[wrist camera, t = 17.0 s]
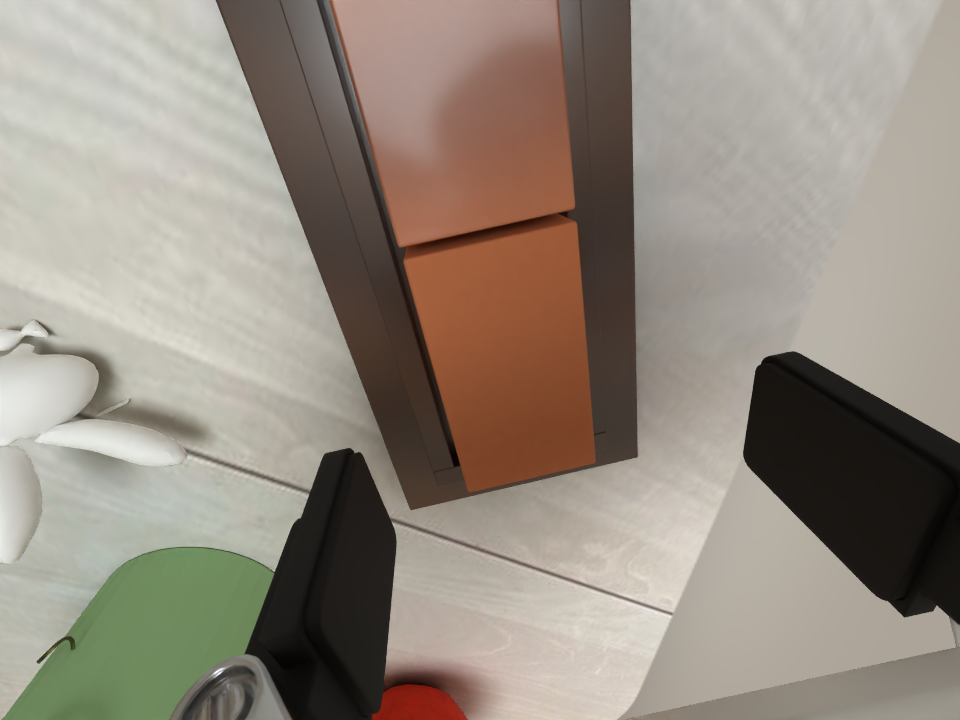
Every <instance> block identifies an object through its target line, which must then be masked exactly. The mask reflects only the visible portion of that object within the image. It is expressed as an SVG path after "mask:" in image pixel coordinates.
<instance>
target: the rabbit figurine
mask: <svg viewBox="0 0 960 720" xmlns="http://www.w3.org/2000/svg"><path fill="white" fill-rule="evenodd" d="M26 335H31V336H38V337H47V338H48V332H47V331H46V330H45V329H44V328H43V327H42V326H41V325H40V324H39V323H38V322H37V321H35V320H32V321H30V322H29V323H27V324H26V325H25V326H24V327H23V328H22V330H21V331H16V330H8V329H0V350H1V351H3V350H9V349H11V348H13V347H14V346H16V345H17V344H18V343H19V342H20V340H21V339H22V338H23V337H24V336H26ZM34 348H35V347H34V346H32V345H30V344H22V343H21V344H20V345H19V346H18V347H17V348H16V349H14V350H13V351H11V352H10V353H9V354H7V355H4V356H0V562H1V563H3V564H13V563H14V562H16V561H18V560H19V558H20V557H21V556H22V554H23V553H24V551H25V550H26V548H27V547H28V544H29V542H30V540H31V538H32V537H33V535H34V533H35V531H36V529H37V526H38V524H39V521H40V518H41V514H42V493H41V486H40V481H39V478H38V476H37V474H36V472H35V469H34V466H33V463H32V461H31V459H30V457H29V456H28V454H27V453H26V451H25V450H23V449H21V448H20V447H7V446H8V445H9V444H11V443H13V442H14V441H16V440H18V439H27V438H31V437H34V436H37V435H39V436H38V438H37V439H36V440H35V442H39V443H43V444H50V445H57V446H64V447H72V448H79V449H85V450H90V451H95V452H99V453H102V454H105V455H107V456H111V457H115V458H118V459H122V460H126V461H129V462H131V463H134V464H138V465H143V466H152V467H159V466H172V465H176V464H181V463H182V462H183V461H184V460H185V459H186V457H187V453H186V451H185V449H184V448H183V447H182V445H181V444H180V443H179V442H178V441H177V440H174V439H171V438H169V437H167V436H166V435H163V434H161V433H159V432H157V431H155V430H153V429H150V428H147V427H143V426H139V425H134V424H129V423H124V422H118V421H111V420H102V419H86V420H80V421H73V422H68V423H64V422H66V421H68V420H69V419H71V418H73V417H74V416H75V415H77V414H78V413H79V412H80V411H81V410H82V409H83V408H85V407H86V406H87V404H88V403H89V402H90V401H91V399H92V398H93V396H94V394H95V392H96V389H97V386H98V380H99V374H98V371H97V370H96V368H95V365H94V364H93V363H91V362H90V361H88V360H86V359H84V358H81V357H77V356H74V355H63V354H49V355H38V354H36V353H35V352H34V350H33V349H34ZM128 401H129V399H128V400H126V401H123V402H121V403H119V404H117V405H115V406H112V407H110V408H108V409H106V410H104V411H101V412H99V413H98V415H97V416H96V417H98V416H100V415H103V414H105V413H107V412H109V411H111V410H114V409H116V408H118V407H120V406H122V405H125V404H126V403H127V402H128ZM96 417H95V418H96ZM63 423H64V424H63Z"/></svg>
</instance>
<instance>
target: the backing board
mask: <svg viewBox="0 0 960 720" xmlns="http://www.w3.org/2000/svg"><path fill="white" fill-rule="evenodd" d="M216 2H217V5H218V7H219V10H220V12H221V15H222V18H223V20H224V23H225V26H226V28H227V31H228V33H229V36H230V39H231V41H232V44H233V46H234V49H235V52H236V54H237V57H238V60H239V62H240V65H241V67H242V70H243V73H244V75H245V78H246V81H247V83H248V86H249V88H250V91H251V94H252V96H253V99H254V102H255V104H256V107H257V109H258V112H259V115H260V117H261V120H262V122H263V125H264V128H265V130H266V133H267V136H268V138H269V141H270V143H271V146H272V149H273V151H274V154H275V157H276V159H277V162H278V164H279V167H280V170H281V172H282V175H283V177H284V180H285V183H286V185H287V188H288V191H289V193H290V196H291V198H292V201H293V204H294V206H295V209H296V212H297V214H298V217H299V219H300V222H301V225H302V227H303V230H304V233H305V235H306V238H307V240H308V243H309V246H310V248H311V251H312V253H313V256H314V259H315V261H316V264H317V267H318V269H319V272H320V274H321V277H322V280H323V282H324V285H325V288H326V290H327V293H328V295H329V298H330V301H331V303H332V306H333V308H334V311H335V314H336V316H337V319H338V322H339V324H340V327H341V329H342V332H343V335H344V337H345V340H346V343H347V345H348V348H349V350H350V353H351V356H352V358H353V361H354V363H355V366H356V369H357V371H358V374H359V377H360V379H361V382H362V384H363V387H364V390H365V392H366V395H367V398H368V400H369V403H370V405H371V408H372V411H373V413H374V416H375V419H376V421H377V424H378V426H379V429H380V432H381V434H382V437H383V439H384V442H385V445H386V447H387V450H388V453H389V455H390V458H391V460H392V463H393V466H394V468H395V471H396V474H397V476H398V479H399V481H400V484H401V487H402V489H403V492H404V494H405V497H406V500H407V502H408V505H409V508H410V510H414V509H418V508H422V507H427V506H431V505H435V504H439V503H444V502H448V501H452V500H457V499H461V498H465V497H469V496H474V495H478V494H482V493H487V492H491V491H495V490H499V489H504V488H508V487H512V486H517V485H521V484H525V483H529V482H534V481H538V480H542V479H547V478H551V477H555V476H559V475H564V474H568V473H572V472H576V471H581V470H585V469H589V468H594V467H598V466H602V465H606V464H611V463H615V462H619V461H624V460H628V459H632V458H636V457H638V448H637V386H636V324H635V262H634V200H633V138H632V76H631V14H630V0H216ZM556 213H557V214H559V215H562V216H564V217H566V218H568V219H571V220H573V221H575V222H576V223H577V228H578V241H579V254H580V267H581V279H582V292H583V305H584V318H585V330H586V343H587V356H588V368H589V381H590V394H591V407H592V419H593V432H594V445H595V458H596V462H595V463H594V464H590V465H586V466H581V467H577V468H573V469H568V470H564V471H560V472H556V473H551V474H547V475H543V476H538V477H534V478H530V479H526V480H521V481H517V482H513V483H508V484H504V485H500V486H496V487H491V488H487V489H483V490H478V491H474V492H468V490H467V487H466V483H465V480H464V476H463V473H462V469H461V465H460V462H459V458H458V455H457V451H456V448H455V444H454V441H453V437H452V433H451V430H450V426H449V423H448V419H447V416H446V412H445V409H444V405H443V402H442V398H441V394H440V391H439V387H438V384H437V380H436V377H435V373H434V370H433V366H432V362H431V359H430V355H429V352H428V348H427V345H426V341H425V338H424V334H423V330H422V327H421V323H420V320H419V316H418V313H417V309H416V306H415V302H414V298H413V295H412V291H411V288H410V284H409V281H408V277H407V274H406V270H405V267H404V257H405V252H406V247H407V246H412V245H416V244H421V243H425V242H430V241H434V240H439V239H443V238H448V237H452V236H457V235H461V234H466V233H470V232H475V231H479V230H484V229H488V228H493V227H497V226H502V225H506V224H511V223H515V222H520V221H524V220H529V219H533V218H538V217H542V216H547V215H552V214H556Z"/></svg>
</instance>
